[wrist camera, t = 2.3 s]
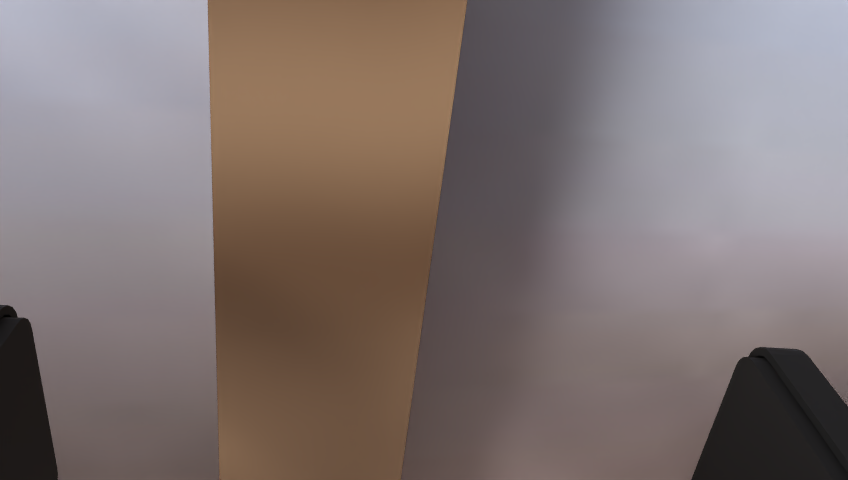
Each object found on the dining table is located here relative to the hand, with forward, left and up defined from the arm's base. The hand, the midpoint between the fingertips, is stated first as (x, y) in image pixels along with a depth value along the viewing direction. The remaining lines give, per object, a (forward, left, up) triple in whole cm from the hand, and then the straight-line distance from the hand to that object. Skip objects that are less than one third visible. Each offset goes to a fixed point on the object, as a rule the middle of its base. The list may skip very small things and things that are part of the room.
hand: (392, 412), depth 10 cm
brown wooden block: (-1, +1, -8) cm, 8 cm away
